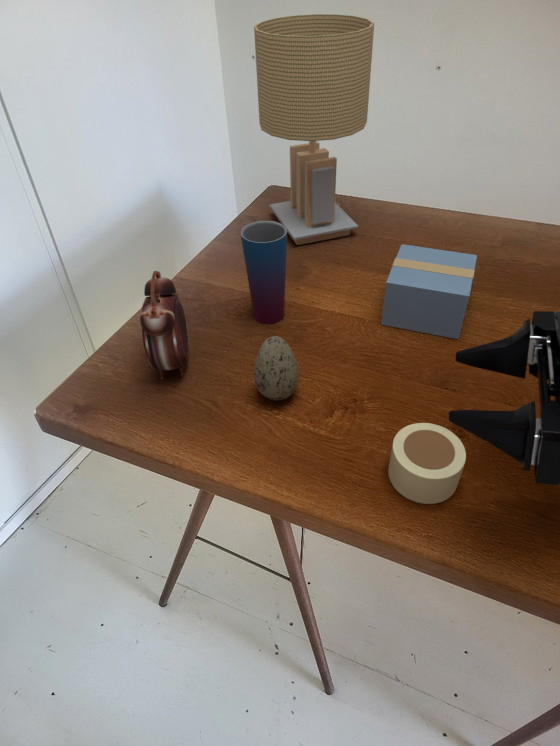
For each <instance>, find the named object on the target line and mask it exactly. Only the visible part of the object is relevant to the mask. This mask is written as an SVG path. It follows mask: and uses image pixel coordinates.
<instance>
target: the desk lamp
mask: <svg viewBox="0 0 560 746" xmlns="http://www.w3.org/2000/svg"><path fill="white" fill-rule="evenodd" d="M253 31H254V32H253V33H254V49H255V50H254V51H255V67H256V68H255V69H256V84H257V102H258V105H257V106H258V119H259V126H260V130H261V131H262V132H264V133H266V134H268V135H269V136H271V137H275V138H279V139H283V140H287V141H299V142H308V143H301V144H294V145H289V173H290V174H289V176H290V179H289V181H290V200H287V201H281V202H275V203H270V204H269V208H270V209H271V211H272V212H273V213H274V215H275V216H276V218H277V220H278V221H279V223H281V224H283V225H284V226H285V227H286V228H287V234H288V235H289V236H290V238H291V239H292V240H293V241H294V244H296V246H301V245H304V244H305V245H306V244H311V243H316V242H320V241H326V240H331V239H336V238H342V237H345V236H350V235H351V230H354V229H355V230H356V229H358V228H359V225H358V224H357V223H356V222H355V221H354V220H353V219H352V217H350V216H349V215H348V214H347V212H345V211H344V209H343V208H342V207H341V206H340V205H339V204H338V203H337V202H336V189H337V187H336V186H337V164H338V163H337V161H338V159H337V157H336V156H330V152H329V150H328V149H327V148H325V147H323V148H320V141H332V140H338V139H341V138H345V137H346V138H347V137H350V136H353V135H355V134H357V133H359V132H361V131H363V130H364V129H365V127H366V125H367V122H368V114H369V113H368V112H369V99H370V85H371V72H372V60H373V59H372V58H373V46H374V32H375V22H374V21H373V20H372V19H369V18H367V17H362V16H357V15H349V14H333V13H331V14H327V13H326V14H325V13H324V14H323V13H321V14H320V13H319V14H318V13H315V14H296V15H288V16H281V17H280V16H279V17H275V18H270V19H267V20H262V21H259V22H258V23H256V24H255V25H254V26H253Z"/></svg>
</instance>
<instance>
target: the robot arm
mask: <svg viewBox="0 0 560 746" xmlns="http://www.w3.org/2000/svg"><path fill="white" fill-rule="evenodd" d="M455 362H456V363H459V364H462V365H466V366H469V367H473V368H477V369H481V370H486V371H490V372H494V373H498V374H503V375H505V376H506V375H507V376H510V377H515V378H519V379H524V380H525V379H526V376H527V375H526V374H527V367H528V374H530V375H531V376H533V377H534V378H536V379H537V382H538V383H537V384H538V397H539V400H538V401H539V410H540V411H539V412H540V414H539V416H540V418H539V417H537V413H536V410H537V409H536V401H531V402H529V403H527V404H524V405H523V406H520V407H518V408H516V409H514V410H486V409H454V410H449V412H448V421H449V422H450V423H451V424H453V425H455V426H457V427H459V428H460V429H463V430H465V432H468V433H470V434H472V435H473V436H475V437H478V438H479V439H481V440H483V441H485V442H487V443H488V444H490V445H492V446H493V447H495V448H497V449H499V450H500V451H501V452H503V453H505V454H506V455H508V456H510V457H511V458H512V459H514V460H515V461H517V462H518V463H520V464H521V465H522V470H523V471H525V472H526V471H527V472H530V471H531V466H533V478H534V479H533V480H534V483H535V484H540V485H549V486H559V485H560V310H557V311H553V310H551V311H549V310H548V311H547V310H544V311H543V310H534V311H533V312H532V320H531V318H526V319H525V320H524V321H523V324H522V325H521V326H520V327H519V328H518V329H517V330H516V331H515V332H514V333H512V334H511V335H509V336H506V337H504V338H501V339H497V340H496V341H491V342H488V343H484V344H481V345H477V346H473V347H469V348H465V349H462V350H458V351H456V352H455ZM551 397H553V398H554V399H553V400H551V399H552V398H551Z"/></svg>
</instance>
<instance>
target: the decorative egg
mask: <svg viewBox="0 0 560 746" xmlns="http://www.w3.org/2000/svg"><path fill="white" fill-rule="evenodd" d="M255 357H256V358H255V362H254V367H253V368H254V369H253V378H254V383H255V386H256V388H257V390H258V391H259V393H260V394H261V395H262V396H263V397H264V398H266V399H267V400H271V401H283V400H286V399H288V398H289V397H291V395H293V393H295V390H296V389H297V387H298V383H299V379H300V373H299V371H300V370H299V365H298V361H297V358H296V356H295V353H294V351H293V349H292V348H291V346H290V345H289V344H288V342H287V341H286V340H285V339H283V338H282V337H281V336H278V335H272V336H270V337H267V339H265V341H263V343H262V344H261V345H260V347H259V349H258V351H257V354H256V356H255Z"/></svg>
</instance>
